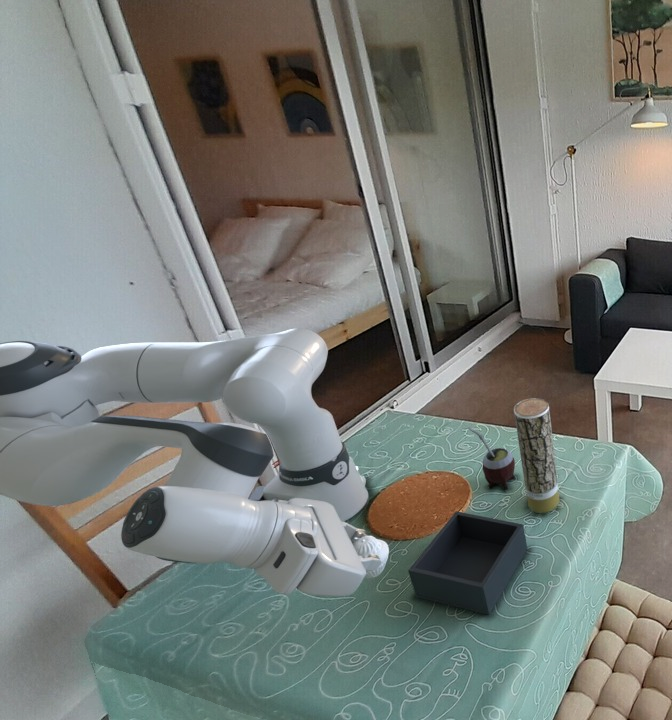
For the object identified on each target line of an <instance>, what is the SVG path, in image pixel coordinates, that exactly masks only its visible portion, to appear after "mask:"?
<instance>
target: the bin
mask: <svg viewBox="0 0 672 720" xmlns="http://www.w3.org/2000/svg"><path fill="white" fill-rule="evenodd" d="M527 552H528V544H527V538H526V532H525V526H524V524H523V523H518V522H513V521H507V520H502V519H498V518H492V517H487V516H483V515H478V514H472V513H467V512H464V511H463V512H462V511H457V510H456V511H455V512H454V513H453V514H452V516H451V517H450V518H449V519H448V521H446V523H445V524H444V525H443V527H442V528H441V529H440V530H439V532H438V533H437V534H436V535H435V536H434V537H433V538H432V540H431V541H430V542H429V543H428V545H427V546H426V547H425V549H424V550H422V552H421V553H420V555H419V556H418V557H417V558H416V560H415V561H414V562H413V563H412V564H411V565H410V567H409V568H408V569H407V573H408V575H409V579H410V582H411V585H412V589H413V591H414V595H415V597H416V598H419V599H423V600H427V601H430V602H435V603H439V604H442V605H448V606H451V607H455V608H460V609H463V610H468V611H471V612H475V613H479V614H482V615H483V614H484V615H488V616H489V615H491V613H492V611H493V610H494V608H495V606H496V605H497V603H498V601H499V600H500V598H501V596H502V595H503V592H504V591H505V589H506V587H507V586H508V584H509V582H510V581H511V579H512V578H513V576H514V574H515V572H516V571H517V569H518V567H519V566H520V564H521V562H522V560H523V558H524V557H525V555H526V553H527Z"/></svg>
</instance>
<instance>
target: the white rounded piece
mask: <svg viewBox="0 0 672 720" xmlns="http://www.w3.org/2000/svg"><path fill="white" fill-rule="evenodd" d="M352 544H353V546H354V548H355V550H356V553H357V555H358V556H362V558H363V559H364V558H367V557H368V556H369V554H372V555H378V556H379V558H380V560H381V562H382V563H381V564H380V566H379V568H378V569H377V570H375V571H372V570H366V575H365V577H364V579H373V578H377V577H378V576H380V575H381V574H382V573H383V571H384V570H385V567H386V565H387V562H388V559H389V553H390V548H389V545H388V543H387V542H386V541H384V540H383V539H379V538H376V537H374V536H373V535H367V536H365V537H362V538H359V539H358V540H357V541H356V542H355V543H352Z"/></svg>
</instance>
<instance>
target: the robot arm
mask: <svg viewBox="0 0 672 720" xmlns="http://www.w3.org/2000/svg"><path fill="white" fill-rule="evenodd" d="M328 354H329V349H328V345H327V343H326V341H325V339H324V338H323V337H321V335H319V334H318V333H316V332H314V331H312V330H311V329H307V328H303V327H294V328H290V329H286V330H283V331H278V332H273V333H269V334H268V333H267V334H262V335H254V336H246V337H245V336H244V337H239V338H232V339H227V340H218V341H207V342H206V341H205V342H197V341H196V342H195V341H194V342H192V341H191V342H164V341H163V342H133V343H123V344H115V345H107V346H102V347H101V346H100V347H97V348H94V349H91V350H89V351H87V352H85V354H83V355H81V353H79V352H78V351H77V350H75V349H74V348H71V347H69V346H63V345H54V344H51V343H46V342H41V341H31V340H12V341H11V340H10V341H5V342H4V341H3V342H0V495H1V496H3V497H6V498H9V499H11V500H15V501H18V502H21V503H26V504H30V505H37V506H43V507H59V506H65V505H69V504H75V503H78V502H80V501H81V502H82V501H83V500H86V499H88V498H91V497H92V496H94V495H96V494H99V493H100V492H102V491H104V490H105V489H106V488H108V487H109V486H111V485H112V484H113V483H114V482H115V481H116V480H117V479H118V478H119V477H120V476H121V475H122V474H123V473H124V472H125V471H126V469H127V468H129V467H130V466H131V464H133V463H134V462H135V461H136V460H137V459H138V458H140V457H141V456H142V455H143V454H144V453H147V452H148V451H150V450H151V449H154V448H156V447H163V448H171V449H181V453H180V456H179V459H178V461H177V463H175V464H176V465H175V466H174V468H173V470H172V472H171V473H170V474H169V477H168V479H167V480H166V482H165V483H164V485H157V486H153V487H151V488H149V489H147V490H146V491H144V492H142V493H141V495H140V496H139V497H137V499H136V500H135V501H134V503H133V504H132V505H131V507H130V508H129V509H128V512H127V513H126V515H125V517H124V520H123V523H122V527H121V533H120V536H121V538H120V539H121V543H122V545H123V546H124V548H126V549H128V550H129V551H132V552H135V553H140V554H143V555H146V556H151V557H155V558H156V559H159V560H162V561H167V562H172V563H173V562H174V563H183V564H184V563H185V564H193V565H194V564H199V565H210V564H218V563H224V564H230V565H233V566H235V567H238V568H241V569H242V568H243V569H253V571H254V573H256V574H257V575H259V576H260V577H261V578H262V579H264V581H266V582H267V583H268V584H269V586H270V587H271V589H272V590H274V592H276V593H277V594H280V595H291V594H293V592H294V591H295V590H298V591H299V592H300V593H303V594H306V595H312V596H321V597H348V596H351V595H353V594H354V593H355V592H356V591H357V590H358V588H359V587H360V585H361V584H362V583H363V581H364V580H365V578H364V577H365V575H366V570H372V571H375V570H377V569H378V568H379V566H380V564H381V563H382V562H381V560H380V558H379V556H378V555H372V554H369V556H368V557H367V558H364V559H363V558H362V556H358V555H357V553H356V550H355V548H354V546H353V544H354V543H355V542H356V541H357V540H358V539H359V538H362V537H365V536H368V534H367V532H366V530H365V529H364V528H359V527H355V526H354V525H352V524H350V523H347V522H346V521H348V520H349V519H351V518H353V517H354V516H356V515H357V514H358V513H359V512H361V510H362V509H363V508H364V507H365V505H366V504H367V502H368V500H369V492H368V490H367V487H366V483H367V480H366V477H365V476H364V475H361V474H360V472H359V467H358V466H357V465H356V464H355V462H354V460H353V458H352V457H351V456H350V455H349V453H348V452H349V451H348V448H347V446H346V444H345V442H343V441H342V440H341V436H340V434H339V431H338V428H337V425H336V423H335V419H334V416H333V414H332V413H331V412H330V411H328V410H327V409H325V408H323V407H319V406H318V405H317V403H316V401H315V400H314V398H313V395H312V387H313V385H314V383H315V381H316V380H317V379H318V378H319V377H320V375H321V374H322V372H323V371H324V369H325V367H326V363H327V359H328ZM218 400H222V401H223V405H224V406H225V408H226V410H227V411H228V412H229V413H230V414H232V416H234V417H235V418H237V419H239V420H241V421H243V422H246V423H249V424H254V425H255V424H256V425H258V426H259V427H260V428H261V430H259V429H258V428H255V427H253V426H250V425H247V424H243V423H237V422H227V421H225V422H204V421H190V420H189V421H188V420H181V419H180V420H179V419H170V418H161V417H149V416H141V415H140V416H139V415H138V416H136V415H124V414H110V415H109V414H108V415H103V414H101V412H100V410H99V407H98V405H102V404H106V403H110V402H121V403H131V404H132V403H133V404H194V403H198V404H200V403H203V404H205V403H211V402H216V401H218ZM262 430H263V431H264V432H263V431H262ZM273 449H274V450H273ZM274 451H275V453H274ZM275 454H276V456H277V458H278V459H277V460H276V461H274V462H273V463H271V461H272V460H273V458H274V456H275ZM270 463H271V465H272V466H273V469H275V468H277V467H278V473H277V475H275V476H274V477H273V478H272V479H271V480H270V481H269V482H268V483H267V484H265V485H260V486H256V484H257V482H258V480H259V479H260V477H261V476H262V475H263V473H264V472H265V470H266V469H267V467H268V466H269V464H270ZM255 486H256V487H255ZM254 488H255V489H254Z"/></svg>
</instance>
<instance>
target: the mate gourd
mask: <svg viewBox="0 0 672 720" xmlns="http://www.w3.org/2000/svg"><path fill="white" fill-rule="evenodd" d="M467 430H469V431H471V432H472V433H474V434H475V435H477V436H478V438H479V439H480V441H482V444H483V445H484V446H485V448H486V450H487V451H488V452H486V454H485V455H484V456H483V459H482V472H483V475H484V478H485V481H486V482H487V484H488V485H487V486H488V489H492V488H495V487H497V486H501V487H502V489H503V490H504V491H507V490H509V487H508V485H507V482H509V481H512V480H514V479H516V476H515V475H514V473H515V467H516V462H515V458H514V455H513V454H512V453H511V451H510V450H509V449H506V448H504V447H497V448H493V449H491V448H490V446H489V445H488V443H487V441H486V439H485V437H484V435H483V434H481V433H480V432H479V431H477V430H475V429H473V428H471V427H470V426H468V427H467Z"/></svg>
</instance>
